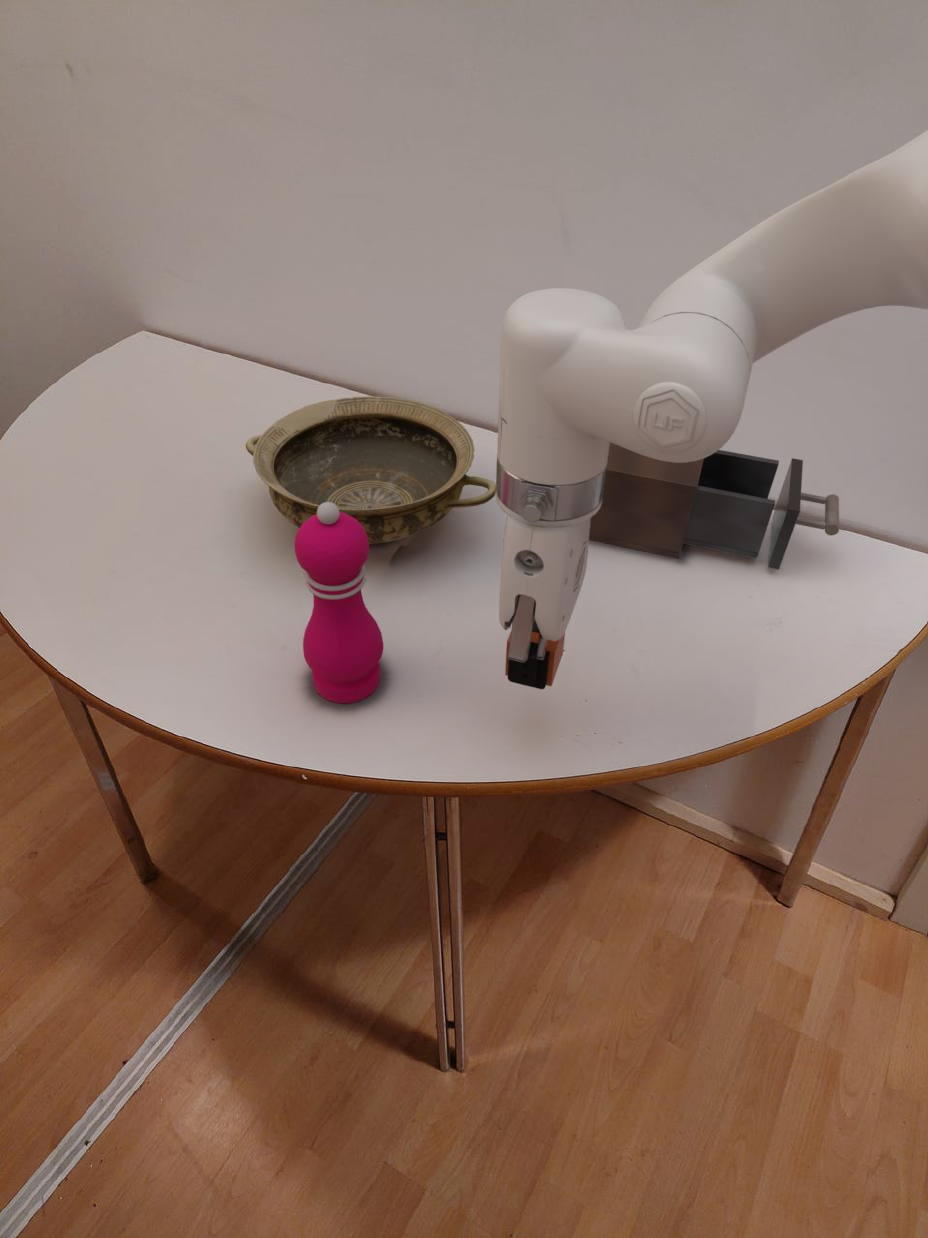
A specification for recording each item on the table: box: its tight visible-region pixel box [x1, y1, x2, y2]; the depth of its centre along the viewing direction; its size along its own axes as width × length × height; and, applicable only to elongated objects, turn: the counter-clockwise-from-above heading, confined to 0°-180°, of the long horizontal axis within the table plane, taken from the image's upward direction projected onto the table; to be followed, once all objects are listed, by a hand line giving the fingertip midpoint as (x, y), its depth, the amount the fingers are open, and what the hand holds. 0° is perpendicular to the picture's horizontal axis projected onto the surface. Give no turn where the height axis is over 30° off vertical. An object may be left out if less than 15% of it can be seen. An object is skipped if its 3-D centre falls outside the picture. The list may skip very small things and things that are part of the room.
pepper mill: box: [294, 502, 384, 704], centre depth 71 cm, size 7×7×20 cm
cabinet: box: [589, 442, 704, 559], centre depth 94 cm, size 15×12×10 cm
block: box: [504, 632, 566, 687], centre depth 68 cm, size 4×4×4 cm
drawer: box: [683, 449, 840, 570], centre depth 91 cm, size 18×10×8 cm, turn 71°
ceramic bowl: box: [245, 395, 496, 545], centre depth 93 cm, size 30×24×10 cm
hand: (534, 662), depth 69 cm, fingers closed on block, 4 cm apart
